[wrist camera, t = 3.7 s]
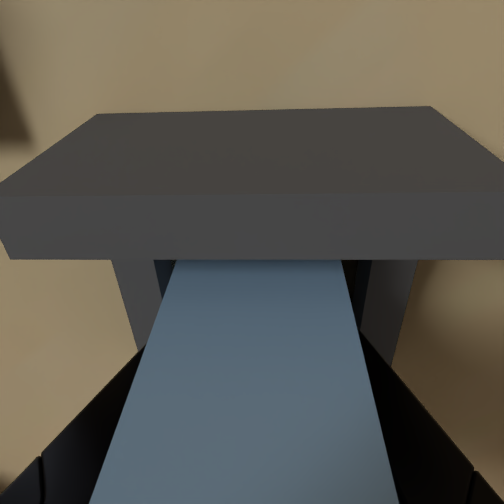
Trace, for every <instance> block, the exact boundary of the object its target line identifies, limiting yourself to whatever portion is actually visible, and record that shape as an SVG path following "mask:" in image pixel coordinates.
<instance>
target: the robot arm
mask: <svg viewBox="0 0 504 504" xmlns="http://www.w3.org/2000/svg"><path fill="white" fill-rule="evenodd" d="M357 330H358V334H359V339H360V343H361V347H362V351H363V355H364V359H365V364H366V368H367V372H368V376H369V380H370V384H371V389H372V393H373V397H374V401H375V405H376V410H377V414H378V418H379V422H380V426H381V430H382V435H383V439H384V443H385V447H386V451H387V455H388V460H389V464H390V468H391V472H392V476H393V481H394V485H395V489H396V493H397V497H398V501H399V504H504V502H503V500H502V499H501V498H500V497H499V496H498V495H497V493H496V492H495V491H494V490H493V489H492V488H491V486H490V485H489V484H488V483H487V482H486V480H485V479H484V478H483V477H482V475H481V474H480V473H479V472H478V471H474V466H473V465H472V464H471V463H470V461H469V460H468V459H467V458H466V457H465V455H464V454H463V453H462V452H461V451H460V449H459V448H458V447H457V446H456V445H455V443H454V442H453V441H452V440H451V439H450V437H449V436H448V435H447V434H446V433H445V431H444V430H443V429H442V428H441V427H440V425H439V424H438V423H437V422H436V421H435V419H434V418H433V417H432V416H431V415H430V413H429V412H428V411H427V410H426V409H425V407H424V406H423V405H422V404H421V403H420V401H419V400H418V399H417V398H416V397H415V395H414V394H413V393H412V392H411V391H410V389H409V388H408V387H407V386H406V385H405V384H404V382H403V381H402V380H401V379H400V378H399V376H398V375H397V374H396V373H395V372H394V370H393V369H392V368H391V367H390V366H389V364H388V363H387V362H386V361H385V360H384V358H383V357H382V356H381V355H380V354H379V352H378V351H377V350H376V349H375V348H374V346H373V345H372V344H371V343H370V342H369V340H368V339H367V338H366V337H365V336H364V334H363V333H362V332H361V331H360V330H359V328H358V327H357ZM146 344H147V343H146ZM146 344H145V345H144V346H143V347H142V348H141V349H140V350H139V351H138V352H137V353H136V355H135V356H134V357H133V358H132V359H131V360H130V361H129V362H128V363H127V364H126V365H125V366H124V367H123V368H122V369H121V370H120V371H119V372H118V373H117V374H116V375H115V376H114V377H113V379H112V380H111V381H110V382H109V383H108V384H107V385H106V386H105V387H104V388H103V389H102V390H101V391H100V392H99V393H98V394H97V395H96V396H95V397H94V398H93V399H92V400H91V401H90V402H89V404H88V405H87V406H86V407H85V408H84V409H83V410H82V411H81V412H80V413H79V414H78V415H77V416H76V417H75V418H74V419H73V420H72V421H71V422H70V423H69V424H68V425H67V426H66V428H65V429H64V430H63V431H62V432H61V433H60V434H59V435H58V436H57V437H56V438H55V439H54V440H53V441H52V442H51V443H50V444H49V445H48V446H47V447H46V448H45V449H44V450H43V451H42V453H41V456H38V457H36V459H35V460H34V461H33V462H32V463H31V464H30V465H29V466H28V467H27V468H26V469H25V470H24V471H23V472H22V473H21V474H20V475H19V476H18V477H17V478H16V479H15V480H14V481H13V482H12V483H11V484H10V485H9V486H8V487H7V488H6V489H5V490H4V491H3V492H2V493H1V494H0V504H89V502H90V500H91V497H92V494H93V491H94V488H95V486H96V483H97V480H98V477H99V475H100V472H101V469H102V466H103V464H104V461H105V458H106V455H107V452H108V450H109V447H110V444H111V441H112V439H113V436H114V433H115V430H116V427H117V425H118V422H119V419H120V416H121V414H122V411H123V408H124V405H125V403H126V400H127V397H128V394H129V391H130V389H131V386H132V383H133V380H134V378H135V375H136V372H137V369H138V366H139V364H140V361H141V358H142V355H143V353H144V350H145V347H146Z"/></svg>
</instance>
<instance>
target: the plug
mask: <svg viewBox="0 0 504 504" xmlns="http://www.w3.org/2000/svg"><path fill="white" fill-rule="evenodd" d="M89 504H399V501H398V497H397V493H396V489H395V485H394V481H393V476H392V472H391V468H390V464H389V460H388V455H387V451H386V447H385V443H384V439H383V435H382V430H381V426H380V422H379V418H378V414H377V410H376V405H375V401H374V397H373V393H372V389H371V384H370V380H369V376H368V372H367V368H366V364H365V359H364V355H363V351H362V347H361V343H360V339H359V334H358V330H357V326H356V322H355V318H354V313H353V309H352V305H351V301H350V297H349V293H348V288H347V284H346V280H345V276H344V272H343V268H342V263H341V260H177V261H176V264H175V267H174V269H173V272H172V275H171V278H170V280H169V283H168V286H167V289H166V292H165V294H164V297H163V300H162V303H161V305H160V308H159V311H158V314H157V317H156V319H155V322H154V325H153V328H152V330H151V333H150V336H149V339H148V341H147V344H146V347H145V350H144V353H143V355H142V358H141V361H140V364H139V366H138V369H137V372H136V375H135V378H134V380H133V383H132V386H131V389H130V391H129V394H128V397H127V400H126V403H125V405H124V408H123V411H122V414H121V416H120V419H119V422H118V425H117V427H116V430H115V433H114V436H113V439H112V441H111V444H110V447H109V450H108V452H107V455H106V458H105V461H104V464H103V466H102V469H101V472H100V475H99V477H98V480H97V483H96V486H95V488H94V491H93V494H92V497H91V500H90V502H89Z"/></svg>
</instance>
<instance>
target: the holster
mask: <svg viewBox="0 0 504 504" xmlns="http://www.w3.org/2000/svg"><path fill="white" fill-rule="evenodd" d="M0 239H1V241H2V243H3V245H4V247H5V249H6V252H7V254H8V256H9V258H10V259H60V260H111V261H112V264H113V268H114V271H115V274H116V278H117V281H118V285H119V288H120V291H121V295H122V298H123V301H124V305H125V308H126V312H127V315H128V318H129V322H130V325H131V329H132V332H133V335H134V339H135V342H136V346H137V349H138V351H139V350H140V349H141V348H142V347H143V346H144V345H145V344H146V343H147V341H148V339H149V336H150V333H151V330H152V328H153V325H154V322H155V319H156V317H157V314H158V311H159V308H160V305H161V303H162V300H163V297H164V294H165V292H166V289H167V286H168V283H169V280H170V278H171V275H172V272H173V270H172V265H171V260H358V265H357V272H356V279H355V286H354V292H353V299H352V309H353V313H354V318H355V322H356V326H357V327H358V328H359V330H360V331H361V332H362V333H363V334H364V336H365V337H366V338H367V339H368V340H369V342H370V343H371V344H372V345H373V346H374V348H375V349H376V350H377V351H378V352H379V354H380V355H381V356H382V357H383V358H384V360H385V361H386V362H387V363H388V364H389V366H390V367H391V364H392V360H393V356H394V352H395V348H396V344H397V341H398V337H399V333H400V329H401V325H402V321H403V317H404V313H405V309H406V305H407V301H408V297H409V293H410V289H411V286H412V282H413V278H414V274H415V270H416V266H417V262H418V260H504V162H503V161H501V160H500V159H499V158H497V157H496V156H495V155H494V154H492V153H491V152H490V151H488V150H487V149H486V148H484V147H483V146H482V145H480V144H479V143H478V142H477V141H475V140H474V139H473V138H471V137H470V136H469V135H467V134H466V133H465V132H464V131H462V130H461V129H460V128H458V127H457V126H456V125H454V124H453V123H452V122H450V121H449V120H448V119H447V118H445V117H444V116H443V115H441V114H440V113H439V112H437V111H436V110H435V109H434V108H432V107H431V106H419V107H376V108H333V109H289V110H246V111H202V112H159V113H116V114H96V115H95V116H94V117H92V118H91V119H89V120H88V121H87V122H85V123H84V124H82V125H81V126H80V127H78V128H77V129H75V130H74V131H72V132H71V133H70V134H68V135H67V136H65V137H64V138H63V139H61V140H60V141H58V142H57V143H56V144H54V145H53V146H51V147H50V148H49V149H47V150H46V151H44V152H43V153H42V154H40V155H39V156H37V157H36V158H35V159H33V160H32V161H30V162H29V163H28V164H26V165H25V166H23V167H22V168H20V169H19V170H18V171H16V172H15V173H13V174H12V175H11V176H9V177H8V178H6V179H5V180H4V181H2V182H1V183H0Z"/></svg>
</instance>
